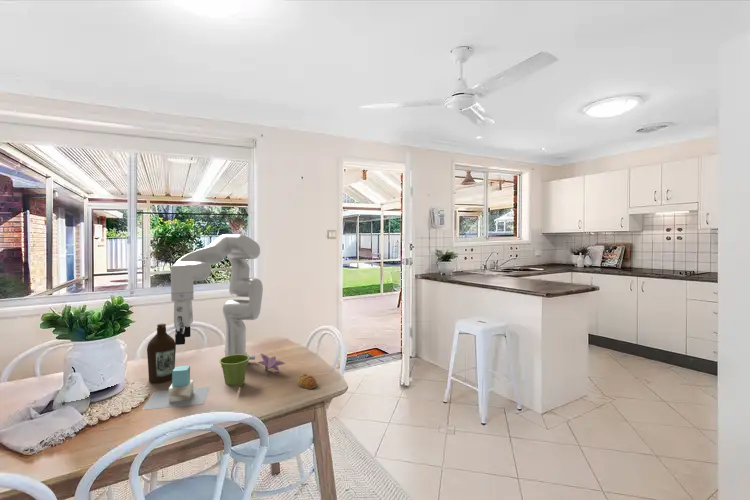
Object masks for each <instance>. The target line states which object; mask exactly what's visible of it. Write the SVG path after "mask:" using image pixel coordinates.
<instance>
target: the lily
mask: <svg viewBox="0 0 750 500" xmlns="http://www.w3.org/2000/svg"><path fill="white" fill-rule="evenodd" d="M260 356H261V359H262V360H261V361H257V362H256V363H257V364H260V365H263V366H264V370H265V371H267V372H266V377H267V376H268V377H269V375H268V374H269V370H270V369H273V370H275V371H277V372H280V368H279V367H278V366H282V365H286V362H284V361H281V360H277V357H276V356H272V357H269V356H268V355H266V354H264V353H260Z"/></svg>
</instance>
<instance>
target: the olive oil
mask: <svg viewBox="0 0 750 500" xmlns="http://www.w3.org/2000/svg"><path fill="white" fill-rule="evenodd" d="M166 326H167V324H166V323H158V324H157V325H156V327H157V328H156V334H155V335H154V336H153V337H152V338H151V339H150V340H149V342H148V344H147V346H146V355H147V368H148V383H150V384H156V385H157V384H164V383H168V382H172V371H173V370H174V368H175V367H176V349H177V345H176V344H175V338H173V337H172V336H171V335H169V334H168V333H167V327H166Z"/></svg>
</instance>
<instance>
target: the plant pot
mask: <svg viewBox="0 0 750 500" xmlns="http://www.w3.org/2000/svg"><path fill="white" fill-rule="evenodd" d="M247 355H248V354H247ZM247 355H243V354H236V355H229V356H225V355H224V356H222V357H221V358H220V359H219V363H220V365H221V368H222V373H223V378H224V383H225V385H228V386H236V385H238V387H242V386H244V384H245V378H246V371H247V366H248V364H249V363H248V360H249V356H247ZM249 361H250V360H249ZM247 363H248V364H247Z"/></svg>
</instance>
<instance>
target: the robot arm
mask: <svg viewBox="0 0 750 500" xmlns="http://www.w3.org/2000/svg"><path fill="white" fill-rule="evenodd" d="M260 255H261V248H260V245H259V244H258V242H256V241H255V240H254V239H252V238H250V237H249V236H247V235H245V234H241V233H239V234H237V233H225V234H224V233H223V234H221V235H219V236H218V237H217V238H215V239H214V240H213V241H212V242H210V243H209V245H207V246H206V247H205V246H204V247H202V248H199V249H197V250H195V251H194V250H193V251H191V252H189V253H187V254H185V255H183V256H181V257H180V258H179V259H178V260H176V262H175V263H174V264H172V265H171V267H170V292H171V293H170V295H171V296H170V297H171V298H170V299H171V302H174V303H173V325H174V328H175V332H174V341H175V344H176V346H179V345H181V346H182V345H185V344H186V338H190V337H191V325H192V324H193V322H194V320H193V319H194V315H193V311H194V310H193V300H194V298H195V297H194V282H195V281H196V282H198V281H199V282H201V281H202V282H203V281H206V280H207V279H208V278H210V276H211V274H212V268H211V266H212V265H215V264H219V263H221V262H222V261H223V260H224V259H225V258H226V257H227V259H228V261H229V262H230V266H231V272H230V278H229V279H230V280H229V287H228V288H229V294H230V296H232V297H236V298H237V297H238V298H249V299H228V300H226V301H225V302H224V303H223V305H222V314H223V318H224V319H223V320H224V357H225V356H229V355H236V354H243V355H247V356H249V360H248V363H247V365H249V363H250V360H252V361H253V360H256V355H254V354H248V352H247V349H246V348H247V345H246V343H247V338H246V336H247V335H246V334H247V333H246V332H247V328H246V324H245V322H244V321H255V320H257V319H258V318H259V316H260V313H261V309H262V299H263V291H264V289H263V288H264V287H263V283H262V280H261V279H259V278H256V277H250V271H251V270H250V266H249V263H248V262H247V260H256V259H257V258H258V257H259V256H260Z"/></svg>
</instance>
